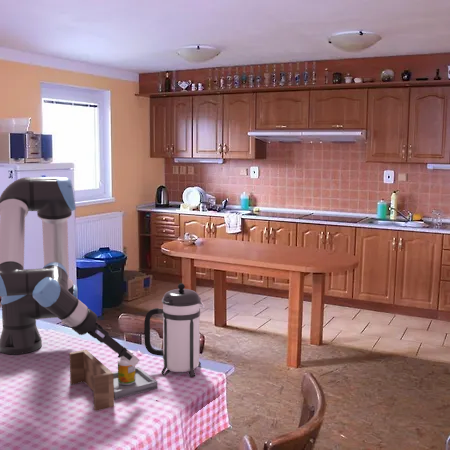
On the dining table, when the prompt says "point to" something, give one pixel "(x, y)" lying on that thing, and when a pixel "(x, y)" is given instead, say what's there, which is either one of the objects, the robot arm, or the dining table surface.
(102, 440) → the dining table surface
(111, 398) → the alcove
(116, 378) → the tray
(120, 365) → the supplement bottle
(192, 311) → the coffee press
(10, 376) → the dining table surface
